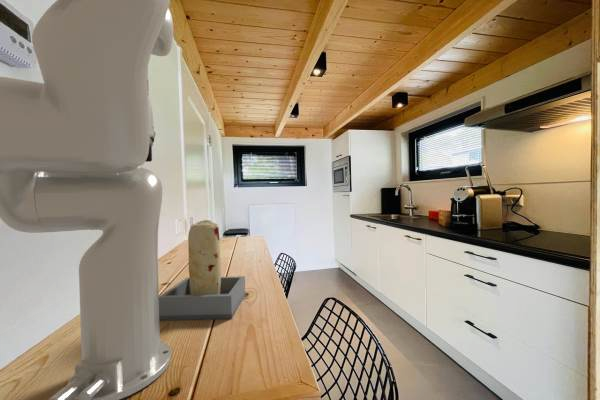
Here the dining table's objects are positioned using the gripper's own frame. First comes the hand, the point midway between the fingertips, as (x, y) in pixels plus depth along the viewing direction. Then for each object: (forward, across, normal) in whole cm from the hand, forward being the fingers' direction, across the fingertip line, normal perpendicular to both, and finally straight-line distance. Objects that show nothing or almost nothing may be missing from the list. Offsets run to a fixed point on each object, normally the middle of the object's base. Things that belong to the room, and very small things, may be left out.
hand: (131, 158), depth 56 cm
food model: (+36, +2, -16) cm, 39 cm away
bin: (+36, +2, -16) cm, 40 cm away
